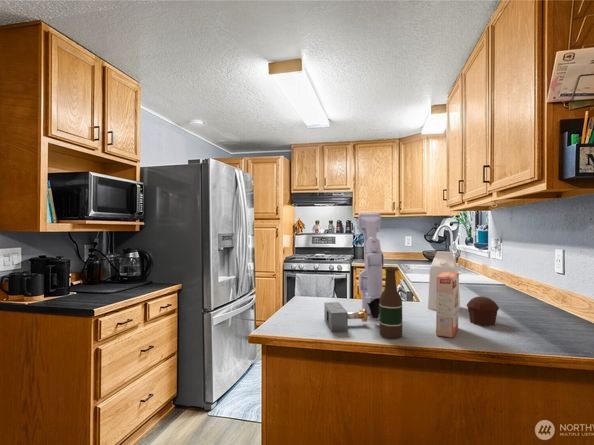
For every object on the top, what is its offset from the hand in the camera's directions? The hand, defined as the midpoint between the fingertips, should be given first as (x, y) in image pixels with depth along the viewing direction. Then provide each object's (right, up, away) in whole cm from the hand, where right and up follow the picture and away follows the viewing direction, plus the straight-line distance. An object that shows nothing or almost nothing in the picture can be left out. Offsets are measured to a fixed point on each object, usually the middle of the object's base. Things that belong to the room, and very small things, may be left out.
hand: (375, 317), depth 135 cm
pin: (-9, -1, -1) cm, 9 cm away
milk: (+37, -2, +24) cm, 45 cm away
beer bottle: (+2, -3, -14) cm, 14 cm away
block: (-16, -3, -1) cm, 16 cm away
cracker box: (+24, -3, -10) cm, 26 cm away
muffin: (+42, -2, 0) cm, 42 cm away
